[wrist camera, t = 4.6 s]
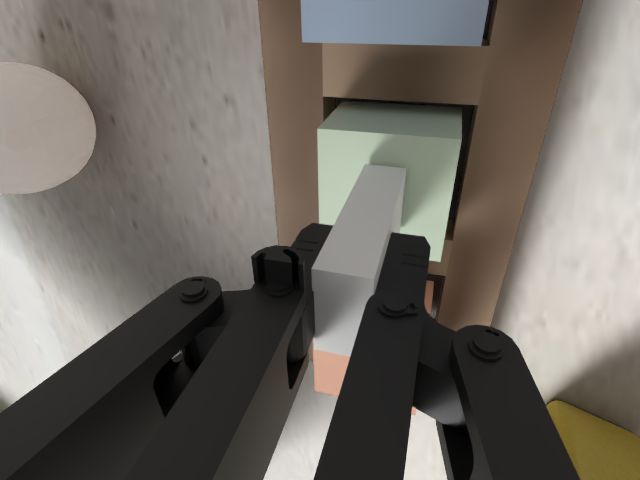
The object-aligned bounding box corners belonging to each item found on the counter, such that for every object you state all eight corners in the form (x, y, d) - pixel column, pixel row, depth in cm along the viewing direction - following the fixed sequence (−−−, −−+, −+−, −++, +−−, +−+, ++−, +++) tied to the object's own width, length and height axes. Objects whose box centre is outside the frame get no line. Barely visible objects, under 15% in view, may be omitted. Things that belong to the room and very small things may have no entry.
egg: (142, 151, 23) (28, 215, 17) (68, 168, 26) (-55, 230, 20) (84, 36, 21) (-76, 64, 14) (8, 68, 23) (-158, 103, 17)
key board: (298, 332, 28) (287, 355, 26) (262, -235, 14) (235, -263, 12) (470, 367, 25) (470, 395, 23) (647, -294, 11) (679, -340, 9)
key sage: (341, 202, 21) (319, 244, 18) (343, 100, 18) (317, 128, 15) (443, 214, 20) (440, 262, 16) (462, 107, 17) (462, 139, 14)
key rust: (334, 335, 24) (314, 391, 21) (334, 265, 21) (312, 317, 18) (421, 352, 23) (415, 415, 20) (433, 281, 20) (428, 340, 17)
